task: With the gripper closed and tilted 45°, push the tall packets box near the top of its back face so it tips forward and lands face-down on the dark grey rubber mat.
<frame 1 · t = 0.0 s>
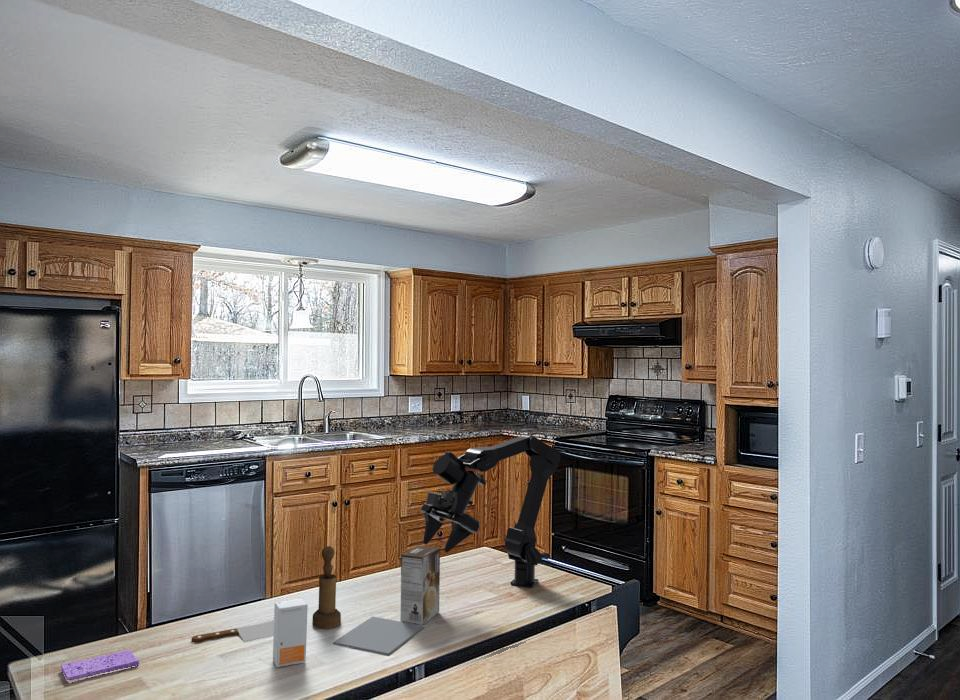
hand: (434, 547, 172), 15 cm above the counter, tool tilted 35°, fingers open, 9 cm apart
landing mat: (380, 635, 153), on the counter
mortar and pestle: (326, 624, 160), on the counter
coffee box: (420, 617, 165), on the counter
sponges: (100, 672, 135), on the counter
kitchen cleaver: (250, 636, 153), on the counter
skincare box: (289, 662, 139), on the counter
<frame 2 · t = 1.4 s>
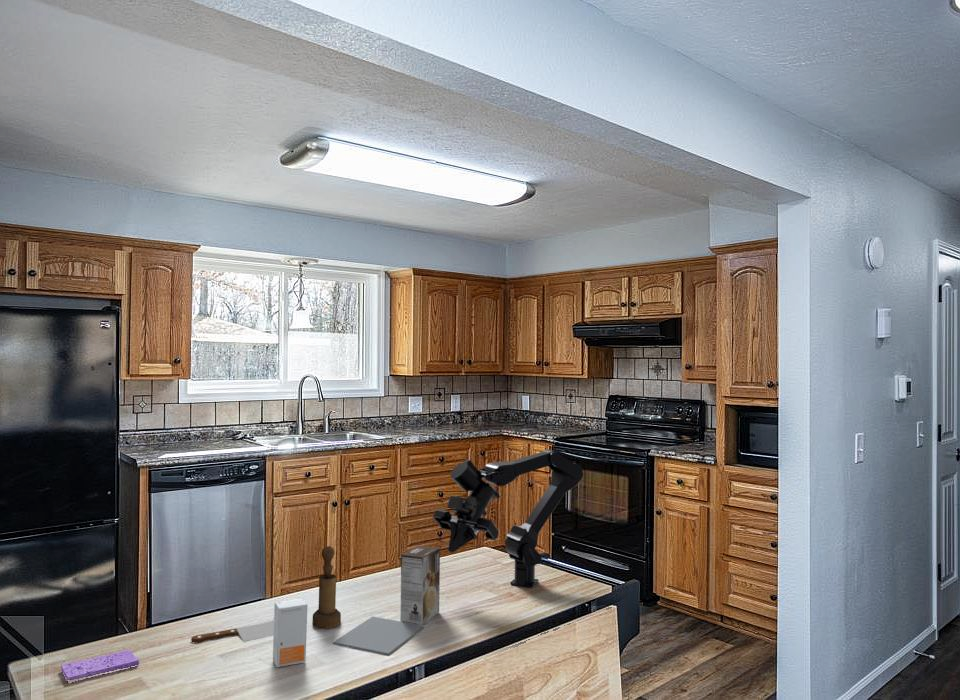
hand: (450, 551, 174), 13 cm above the counter, tool tilted 45°, fingers closed
nothing on the counter moved.
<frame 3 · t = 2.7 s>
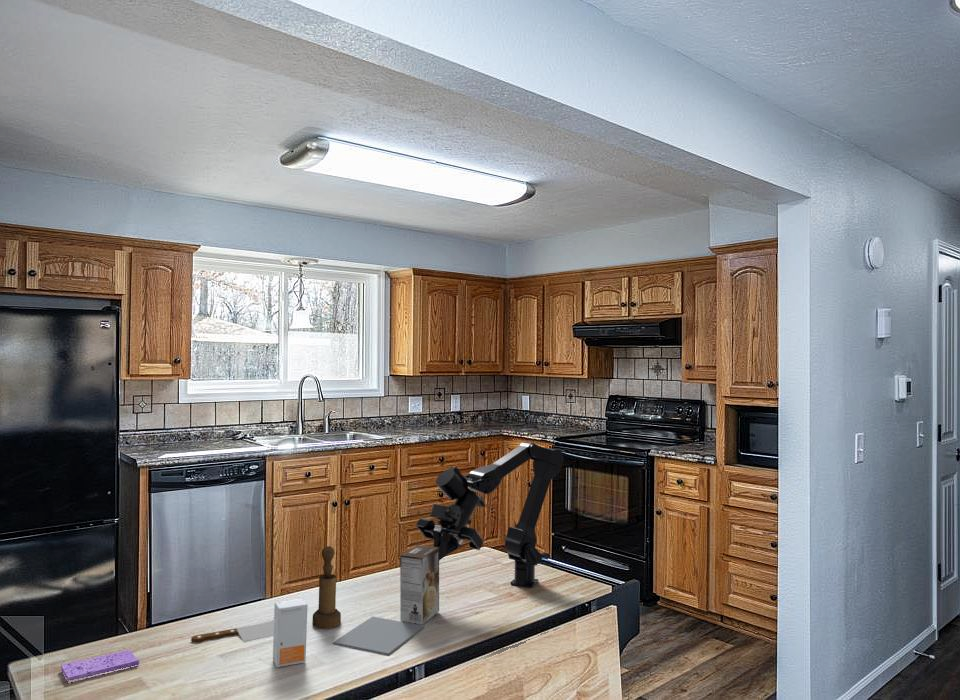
hand: (432, 562, 169), 12 cm above the counter, tool tilted 45°, fingers closed
coffee box: (420, 617, 165), on the counter, touching gripper
everything else where it was.
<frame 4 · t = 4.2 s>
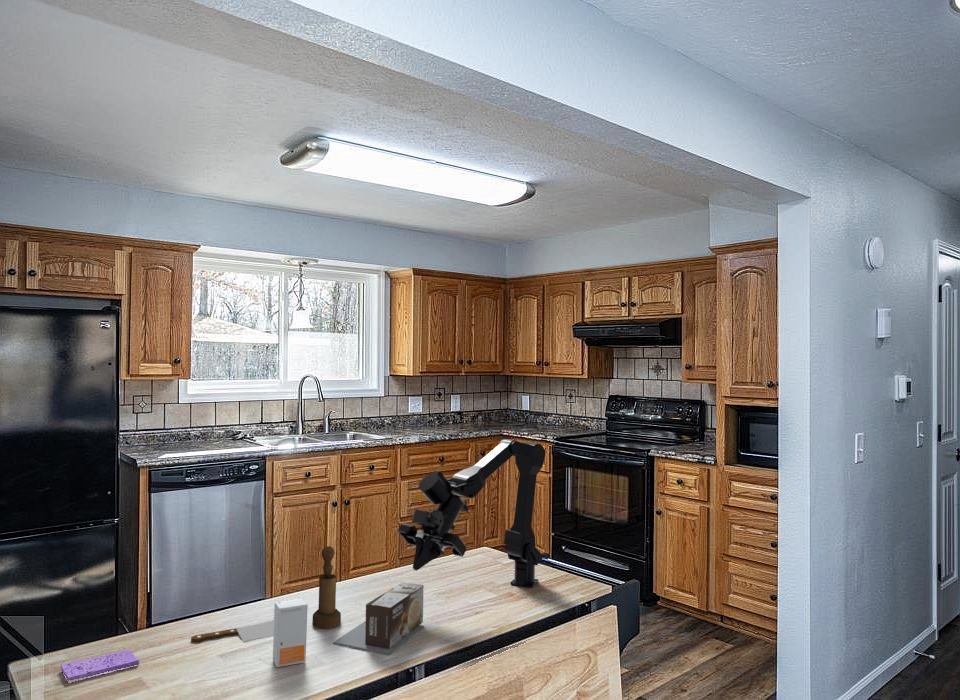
hand: (414, 569, 163), 12 cm above the counter, tool tilted 45°, fingers closed
coffee box: (412, 602, 161), point 5 cm above the counter, touching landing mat
everything else where it was.
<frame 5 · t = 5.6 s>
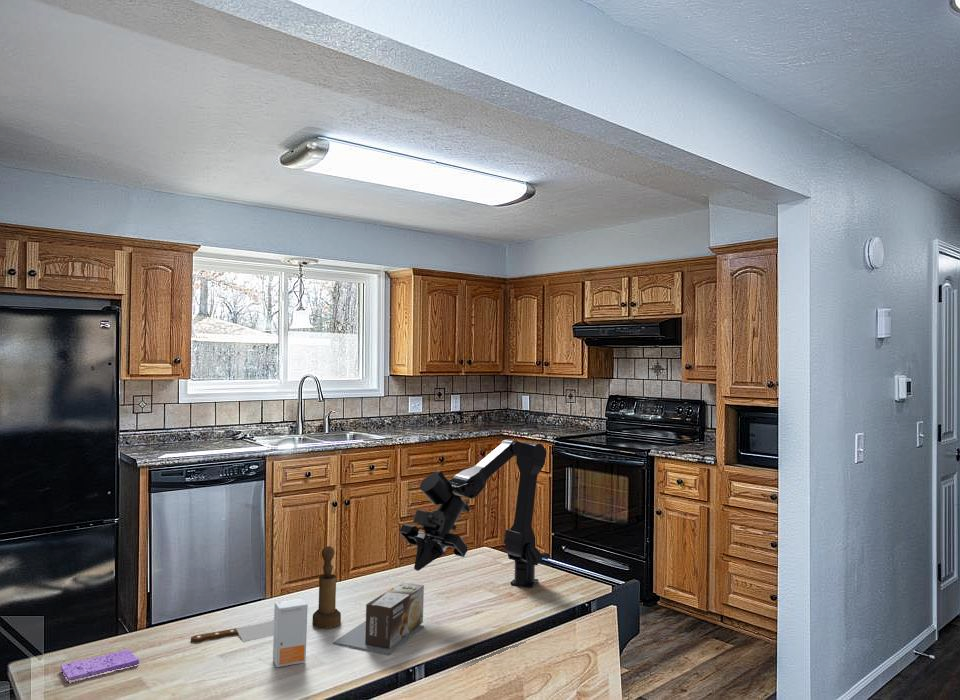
hand: (416, 569, 164), 12 cm above the counter, tool tilted 45°, fingers closed
nothing on the counter moved.
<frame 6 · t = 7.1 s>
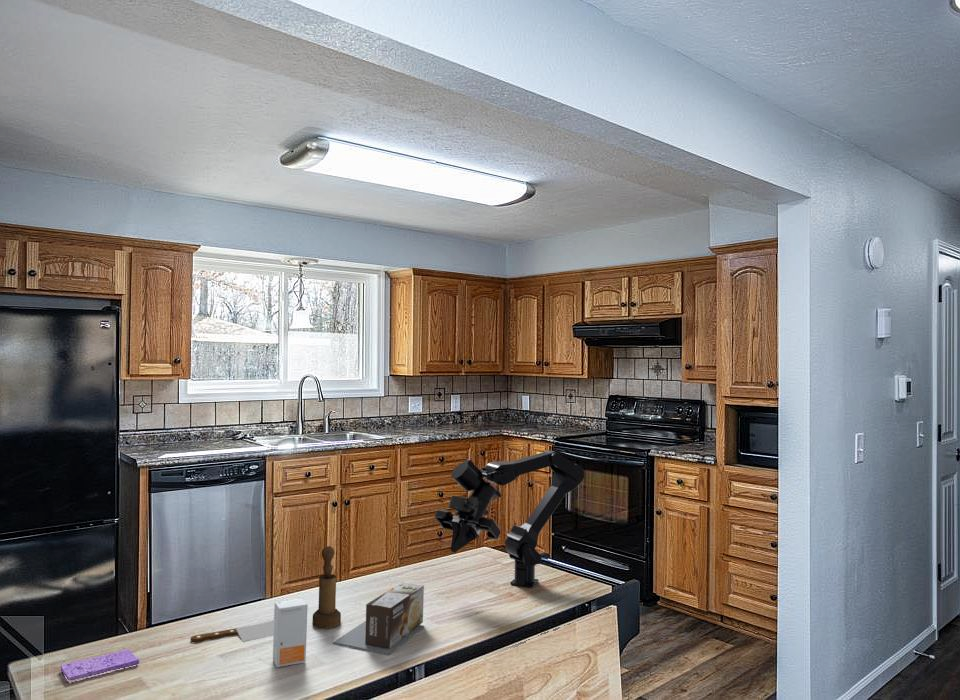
hand: (452, 551, 174), 13 cm above the counter, tool tilted 45°, fingers closed
nothing on the counter moved.
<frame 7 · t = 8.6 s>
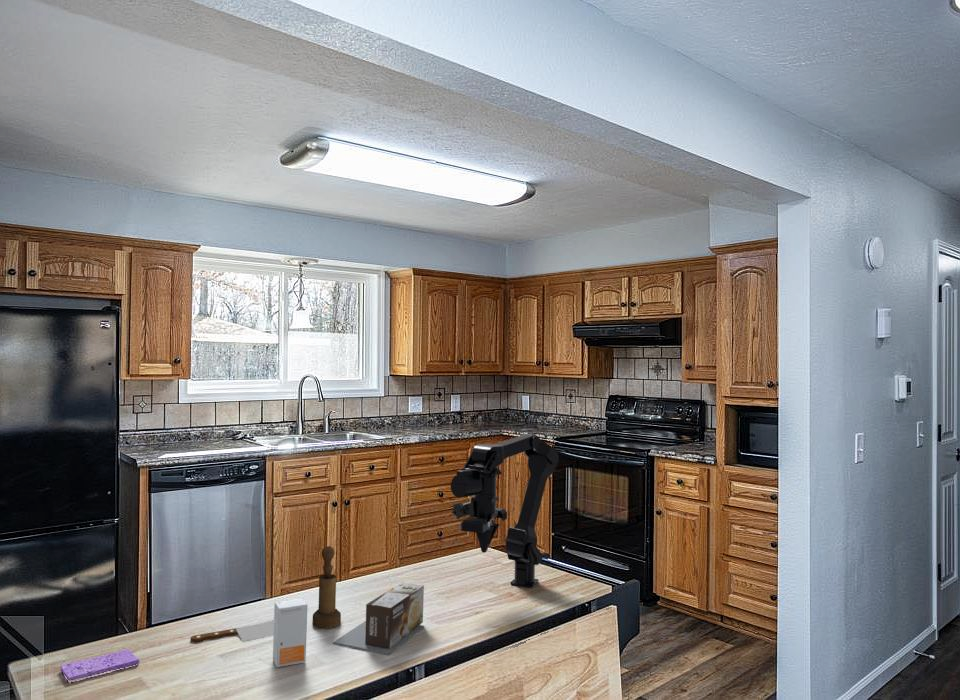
hand: (484, 552, 179), 12 cm above the counter, tool pointing down, fingers closed
nothing on the counter moved.
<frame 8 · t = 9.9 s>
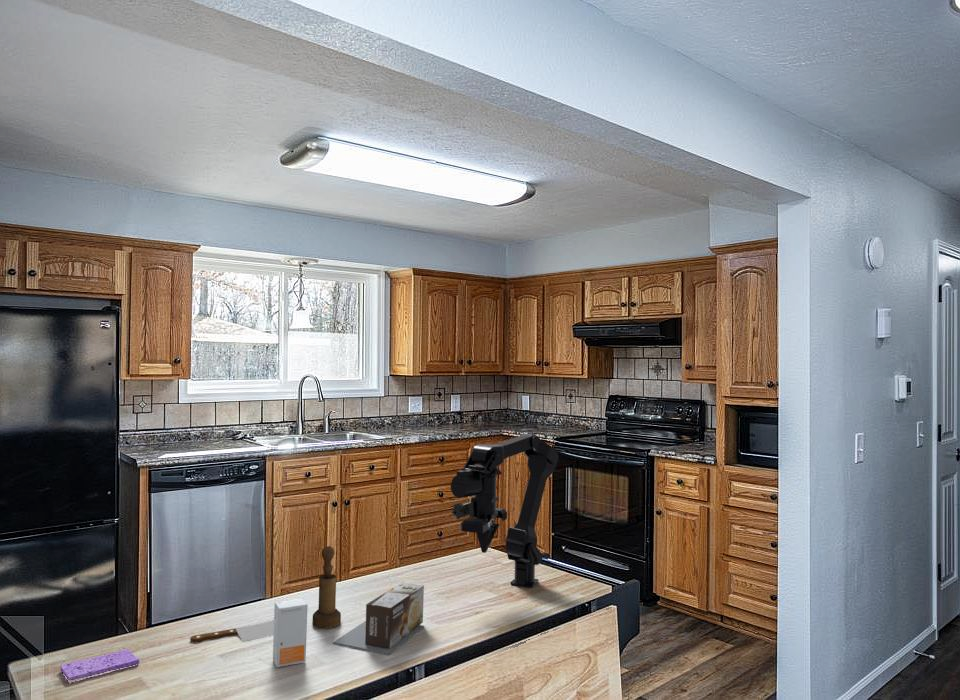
hand: (484, 552, 179), 12 cm above the counter, tool pointing down, fingers closed
nothing on the counter moved.
at the end: coffee box tilted 89°; coffee box touching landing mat; the gripper is holding nothing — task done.
